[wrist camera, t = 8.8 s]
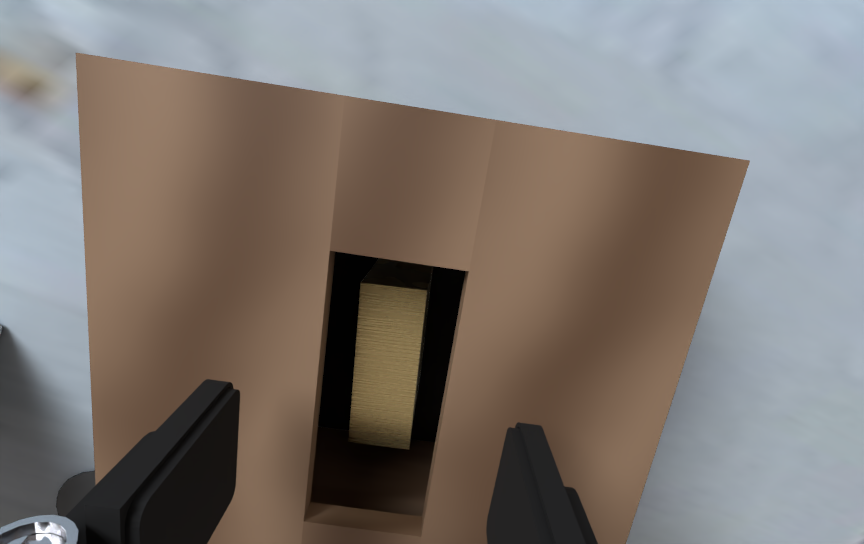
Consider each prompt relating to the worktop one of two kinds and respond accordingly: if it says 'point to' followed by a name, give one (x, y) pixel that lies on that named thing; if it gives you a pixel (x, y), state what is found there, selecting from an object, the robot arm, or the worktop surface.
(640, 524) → the worktop surface
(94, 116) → the brown slotted wooden box
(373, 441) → the tan rectangular block
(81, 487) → the sundae
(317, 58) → the worktop surface
